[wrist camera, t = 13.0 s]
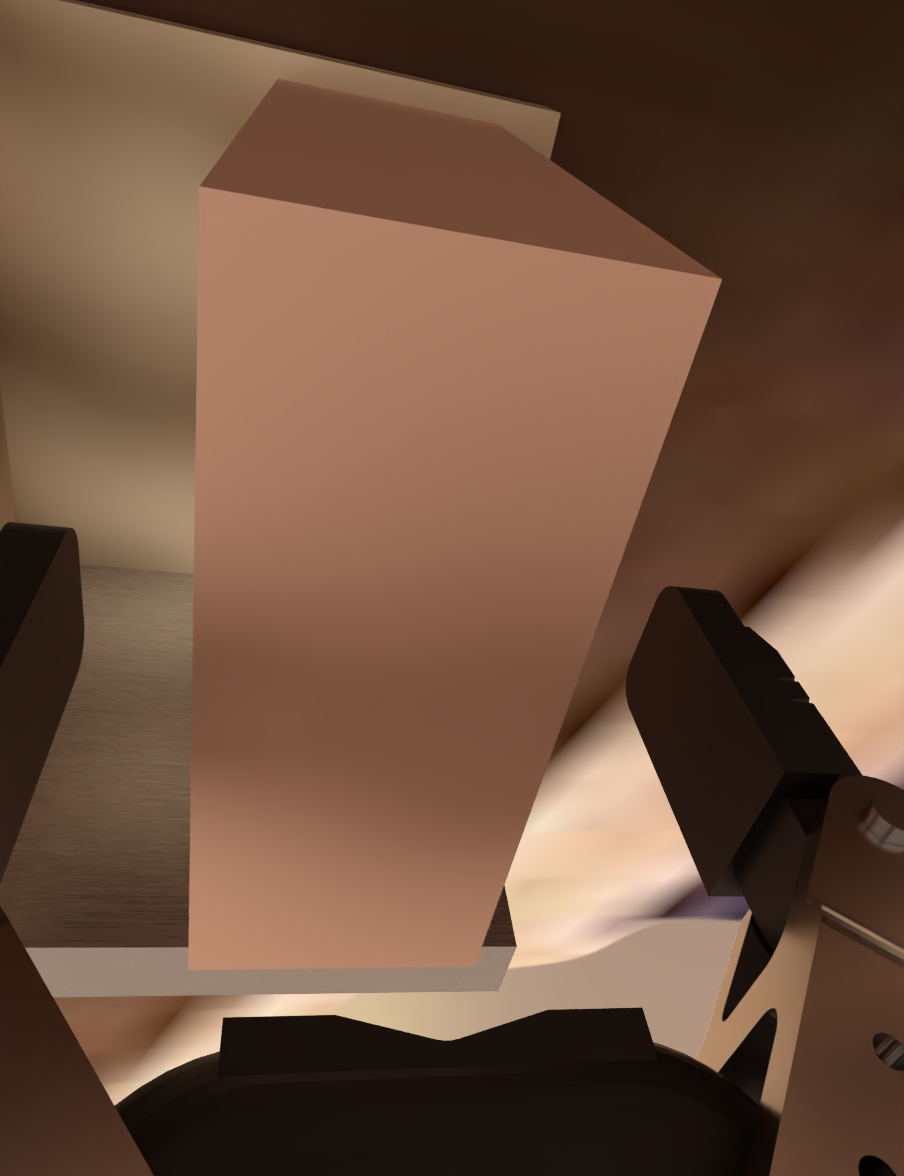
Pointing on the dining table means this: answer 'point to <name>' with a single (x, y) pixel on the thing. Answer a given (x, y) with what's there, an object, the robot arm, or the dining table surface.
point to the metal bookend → (149, 824)
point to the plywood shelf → (131, 253)
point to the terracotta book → (403, 513)
